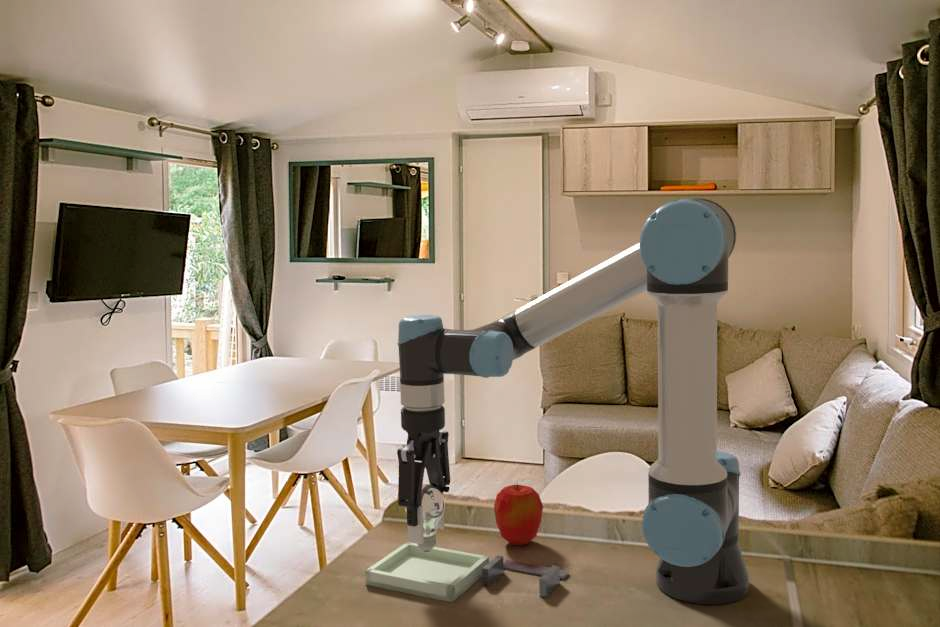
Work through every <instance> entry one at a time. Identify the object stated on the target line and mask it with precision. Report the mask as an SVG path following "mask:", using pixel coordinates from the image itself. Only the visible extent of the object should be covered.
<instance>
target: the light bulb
mask: <svg viewBox="0 0 940 627" xmlns="http://www.w3.org/2000/svg"><path fill="white" fill-rule="evenodd" d="M443 496H444V494H443V495H442V493H441V492H440V491H439V490H438V489H437V488H436V487H434V486H432V485H430V483H423V484H422V491H421V499H420V505H419V506H423V511H422V513H423V532H424V543H423V544H417V543H416V544H417V545H418V546H419V547H420V548H421V549H422V550H423V551H424V552H429V551H430V550H431V549H432V548H433V547H436V545H437V535H436V533H437V531H438V529H437V526H438V522H439V520H440V519H441V517H442V515H443V513H444V514H445V508H446V502H445V497H443ZM404 510H405V513H406V514H407V509H406V507H404Z"/></svg>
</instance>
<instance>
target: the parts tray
mask: <svg viewBox="0 0 940 627" xmlns="http://www.w3.org/2000/svg"><path fill="white" fill-rule="evenodd" d="M489 562H490V556H487V555H484V554H483V555H482V554H477V553H472V552H471V553H470V552H466V551H461V550H456V549H455V550H454V549H449V548H443V547H438V546H434V547H433V548H432V549H431V550H430V551H429V552H424V551H423V550H422V549H421V548H420V547H419V546H418V545H417V543H411V542H408V541H407V542H405V543H403V544H402V545H401V546H399V547H398V548H396V549H395V550H393V551H391V552H390V553H389V554H387V555H386V556H385V557H383V558H381V559H380V560H378V561H377V562H375V563H374V564H372V565H371V566H369V567H368V568H367V569H365V570H364V576H365V585H366V586H367V585H368V586H372V587H377V588H381V589H385V590H391V591H393V592H394V591H395V592H399V593H404V594H408V595H409V594H410V595H414V596H419V597H423V598H429V599H431V600H432V599H433V600H438V601H443V602H447V603H452V604H453V603H454V601H456V600H457V599H458V598H459V597H460V596H461V595H463V594H464V593H466V592H467V591H468V589H469V588H471V587H472V586H473V585H474V584H475V583H476V582H477V581H478V580H480V579H481V578H482V568H483V567H484V566H485V565H486V564H488V563H489Z"/></svg>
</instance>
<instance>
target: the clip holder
mask: <svg viewBox="0 0 940 627" xmlns="http://www.w3.org/2000/svg"><path fill="white" fill-rule="evenodd" d="M560 568H561V567H560V566H558V565H552V566H551V567H547V566H543V565H537V564H533V563H527V562H521V561H514V560H510V559H505V560H504V556H503V555H496V556H495V557H494V558H492V559H491V560H489V563H488V564H486V565H485V566H484V567H483V568H482V577H481V578H482V579H481V580H482V586H484V587H485V586H486V587H489V586H490V585H492V584H493V583H494V582H495V581H497V579H499V577H500V576H502V575H503V574H504V572H505V570H509V571H515V572H521V573H526V574H529V575H530V574H532V575H535V576H541V577H540V578H539V579H538V580H539V586H538V587H539V597H542V598H548V597H549V595H550V594H551V593H552V592H553V591H554V590H555V589H556V588H557V587H558V586H559V585H560V583H561V581H560V580H565V579H566V578H567V577H568V576H569V575H570V574H569V572H570V571H569V570H566V569H565V570H564V569H560Z"/></svg>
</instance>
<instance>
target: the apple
mask: <svg viewBox="0 0 940 627" xmlns="http://www.w3.org/2000/svg"><path fill="white" fill-rule="evenodd" d="M493 503H494V504H493V509H494V516H495V523H496V526H497V528H498V531H499V533H500V536H501V537H502V538H503V540H505V541H507V542H508V543H509V544H510V545H515V546H524V545H527V544H528V543H529V542H531V541H532V540H533V539H534V538H536V536H537V534H538V532H539V530H540V529H539V528H540V525H541V523H542V518H543V511H544V510H543V509H544V505H543V502H542V500H541V496H540V494H539V493H538V492H537V491H536V490H535V489H534V488H533V487H531V486H529V485H522V484H518V482H516V484H512V485H507V486H504V487H503V488H502V489H501V490H499V492H498V493H497V494H496V496H495V501H494V502H493Z"/></svg>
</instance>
